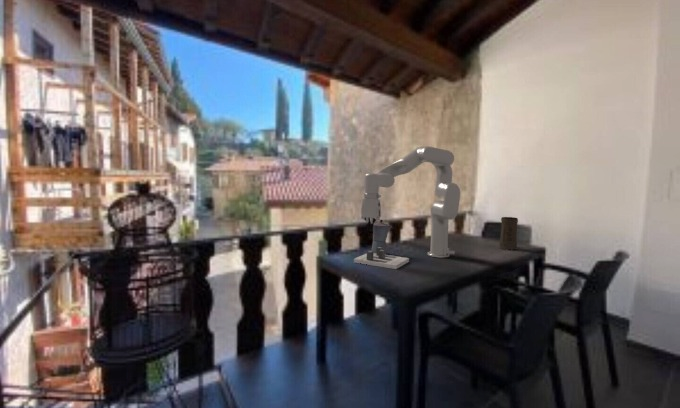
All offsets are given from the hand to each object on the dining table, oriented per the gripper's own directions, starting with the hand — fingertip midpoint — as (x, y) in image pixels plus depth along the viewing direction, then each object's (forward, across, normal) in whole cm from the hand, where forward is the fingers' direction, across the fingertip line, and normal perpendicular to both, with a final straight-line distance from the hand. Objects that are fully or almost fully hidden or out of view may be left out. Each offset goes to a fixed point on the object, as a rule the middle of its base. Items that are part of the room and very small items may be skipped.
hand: (370, 230), depth 225 cm
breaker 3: (+14, -7, 0) cm, 16 cm away
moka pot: (+17, +3, -17) cm, 24 cm away
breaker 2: (+14, -3, -6) cm, 16 cm away
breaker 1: (+14, -3, +6) cm, 16 cm away
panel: (+16, -7, 0) cm, 18 cm away
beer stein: (+16, -58, -79) cm, 100 cm away
